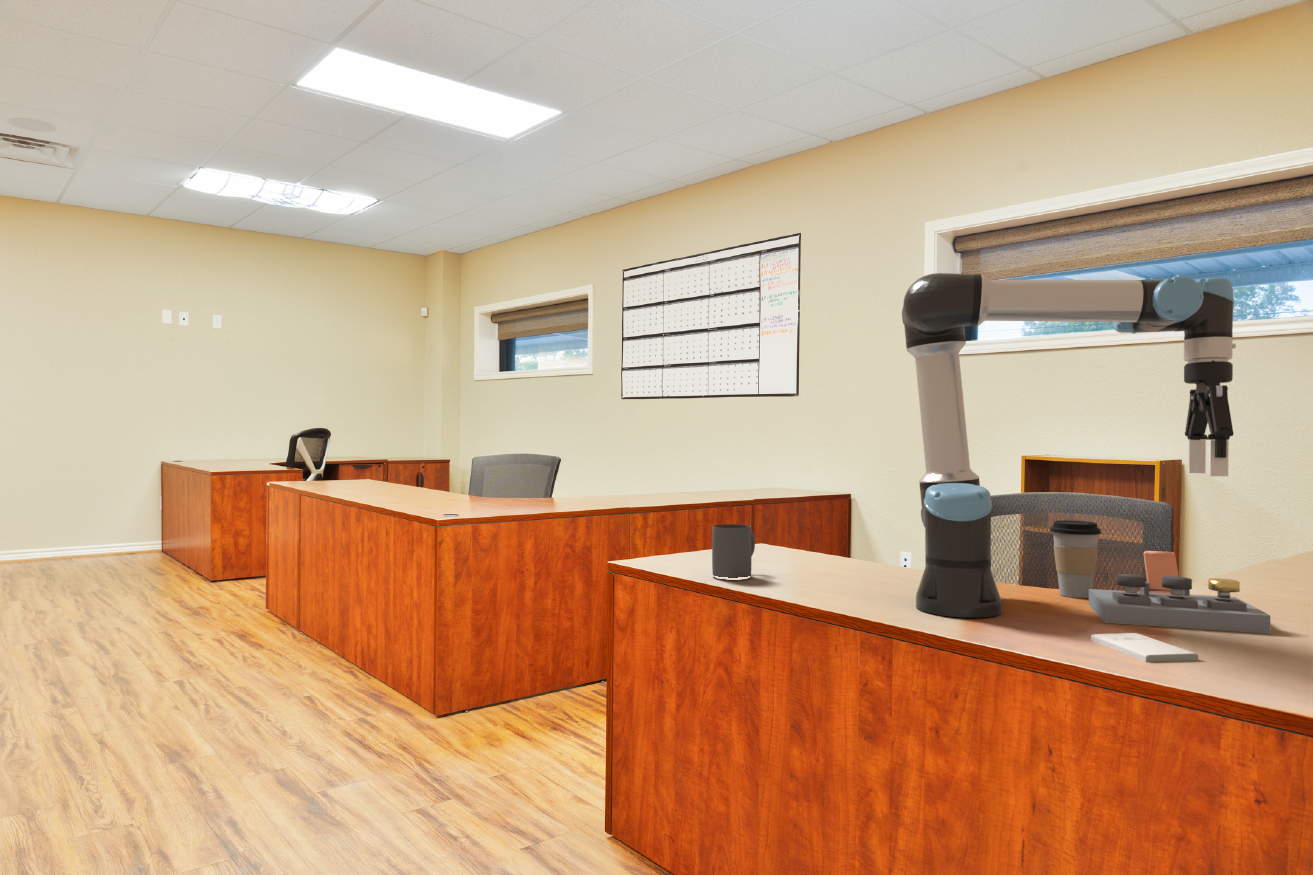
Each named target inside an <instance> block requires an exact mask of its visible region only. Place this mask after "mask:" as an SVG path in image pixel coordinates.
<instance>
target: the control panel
mask: <svg viewBox="0 0 1313 875" xmlns="http://www.w3.org/2000/svg"><path fill="white" fill-rule="evenodd" d="M1190 590H1191V589H1190ZM1190 590H1183V596H1175V595H1171V592H1170V593H1169V592H1155V591H1149V583H1148V582H1147V581H1146V587H1139V591H1137V593H1127V592H1125V590H1114V589H1099V588H1098V589H1095V588H1093V589H1089V598H1088V605H1089V607H1090V608H1092V610H1093V611H1094V612H1095V613H1096V614H1097V615H1098V617H1099V618H1101V619H1102V621H1103V622H1104V623H1107V624H1118V625H1119V624H1121V625H1134V626H1151V627H1165V628H1177V629H1178V628H1181V629H1194V630H1195V629H1197V630H1209V631H1211V630H1212V631H1227V632H1237V633H1238V632H1239V633H1256V634H1268V635H1269V634H1271V615H1270V614H1269V613H1267V612H1264V611H1263V610H1261V609H1259V608H1258V607H1255V606H1253V605H1252V604H1249V603H1248V602H1246V601H1244V600H1243V599H1240V598H1239V597H1236V596H1230V598H1219V597H1218V595H1208V594H1192V593H1191V591H1190Z"/></svg>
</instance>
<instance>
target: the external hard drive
mask: <svg viewBox="0 0 1313 875" xmlns="http://www.w3.org/2000/svg"><path fill="white" fill-rule="evenodd" d="M1090 637H1091V638H1090V640H1091V641H1092V642H1095V643H1098V644H1100V645H1102V646H1105V647H1107V648H1111V649H1113V650H1115V651H1117V652H1120V653H1122V654H1125V655H1127V656H1130V657H1133V658H1135V659H1137V660H1140V661H1142V662H1145V663H1151V662H1152V663H1154V662H1155V663H1157V662H1183V661H1188V662H1189V661H1199V654H1198V653H1196V652H1193V651H1190V650H1187V649H1184V648H1181V647H1178V646H1175V645H1172V644H1169V643H1167V642H1163V641H1161V640H1158V639H1155V638H1152V637H1149V636H1146V635H1144V634H1140V633H1138V632H1125V633H1124V632H1122V633H1097V634H1096V633H1094V634H1092V635H1091V636H1090Z"/></svg>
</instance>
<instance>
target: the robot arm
mask: <svg viewBox="0 0 1313 875" xmlns="http://www.w3.org/2000/svg"><path fill="white" fill-rule="evenodd" d="M1234 305H1235V300H1234V290H1233V284H1232V281H1231V280H1230V279H1228V278H1225V277H1208V278H1197V279H1193V278H1192V277H1189V276H1186V275H1185V276H1184V275H1175V276H1170V277H1166V278H1165V279H1159V280H1158V279H1155V280H1154V279H1145V280H1141V279H1140V280H1139V279H1130V280H1129V279H989V278H987V276H985V275H984V274H983V273H981V274H980V273H977V274H976V273H973V274H971V273H953V272H952V273H951V272H950V273H948V272H947V273H946V272H945V273H944V272H943V273H942V272H939V273H937V272H936V273H930V274H929V273H928V274H926V275H923V276H921V277H920V278H918V279H916V280H915V281H914V282H912V284H911V285H910V286H909V287H908V289H907V291H906V293H905V295H904V298H903V304H902V308H901V310H902V311H901V321H902V324H903V325H904V336H905V346H906V352H907V353H909V354H910V355H911V356H913V357H914V362H915V369H916V370H915V371H916V381H917V392H918V401H919V402H918V403H919V411H920V412H919V413H920V414H919V415H920V421H921V422H920V423H921V433H922V442H923V443H922V444H923V453H924V454H923V455H924V464H925V473H924V475H923V476H922V477H921V478H920V480H919V492H920V503H921V509H920V518H921V522H922V524H923V527H924V534H925V535H924V538H925V539H924V541H925V542H924V543H925V545H924V547H925V548H924V551H925V555H924V556H925V557H924V559H925V560H924V561H925V566H924V571H923V573H922V576H921V579H920V583H919V585H918V587H917V591H916V595H915V608H916V609H917V610H920V611H921V612H925V613H928V614H933V615H938V616H943V617H944V616H945V617H952V618H972V619H974V618H978V619H979V618H990V617H996V616H998V615H1001V614H1002V611H1003V609H1002V604H1003V603H1002V602H1003V601H1002V598H1001V596H1000V592H999V590H998V587H997V584H996V580H995V577H994V574H993V573H992V510H993V502H992V498H991V492H990V491H989V490H988V489H987V488H986V487H984V486H983V485H981V484H980V483H981V482H980V476H979V475H977V474H976V472H974V471H973V470H972V469H971V463H970V453H969V444H968V442H969V441H968V435H967V434H968V432H967V423H966V413H965V402H964V393H963V392H964V391H963V381H962V372H961V361H960V352H961V350H962V349H963V348H964V347H965V346H966V344H967V343H966V342H967V341H966V331H965V327H970V326H971V327H979V326H980V325H981V324H983V323H984V322H989V321H990V322H992V321H993V322H994V321H995V322H997V321H998V322H1065V323H1066V322H1070V323H1071V322H1074V323H1076V322H1079V323H1083V322H1084V323H1087V322H1089V323H1090V322H1091V323H1112V326H1113V329H1114V330H1115V331H1116V332H1117V333H1120V334H1123V333H1124V334H1126V333H1129V334H1133V335H1134V334H1137V333H1157V332H1159V333H1160V332H1161V333H1162V332H1183V334H1184V336H1183V360H1184V362H1187V363H1186V364H1184V365H1183V382H1184V383H1186V384H1190V385H1192V384H1193V385H1195V389H1190V391H1189V404H1188V410H1187V417H1186V423H1185V424H1186V425H1185V432H1184V436H1185V437H1187V440H1188V443H1187V444H1188V445H1187V446H1188V448H1187V450H1188V452H1187V456H1188V457H1187V459H1188V460H1187V461H1188V463H1187V465H1188V466H1187V469H1188V470H1187V473H1188V474H1206V464H1207V463H1206V461H1207V460H1206V458H1207V457H1206V455H1207V454H1206V452H1207V451H1206V448H1207V447H1206V446H1207V444H1206V443H1207V440H1208V441H1209V443H1208V444H1209V446H1208V447H1209V452H1208V453H1209V454H1208V455H1209V456H1208V457H1209V458H1208V459H1209V461H1208V468H1209V469H1208V476H1209V477H1229V440H1230V438H1231V437H1233V436H1234V429H1233V428H1234V427H1233V422H1232V415H1231V410H1230V404H1229V397H1228V389H1229V387H1228V385H1226V384H1228V383H1230V382H1232V381H1233V380H1234V378H1233V377H1234V376H1233V374H1234V372H1233V371H1234V370H1233V367H1234V366H1233V365H1234V364H1233V363H1232V362H1231V361H1230V360H1232V359H1233V350H1234V349H1236V348H1237V347H1236V346H1237V345H1236V343H1233V335H1234V334H1233V329H1234V328H1233V326H1234ZM1221 384H1222V385H1221ZM1223 384H1224V385H1223ZM1207 427H1208V428H1209V432H1210V433H1208V434H1206V430H1207Z"/></svg>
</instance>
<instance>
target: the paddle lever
mask: <svg viewBox="0 0 1313 875" xmlns="http://www.w3.org/2000/svg"><path fill="white" fill-rule="evenodd" d="M1143 562H1144V569H1145V577H1146V582H1148V583H1149V592H1165V593H1169V592H1170V593H1171V589H1169V588H1164V587H1162V577H1163V576H1177V577H1180V576H1179V571H1178V565H1177V558H1176V553H1175V552H1173V551H1162V550H1161V551H1160V550H1159V551H1158V550H1157V551H1156V550H1145V551H1144V552H1143Z"/></svg>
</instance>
